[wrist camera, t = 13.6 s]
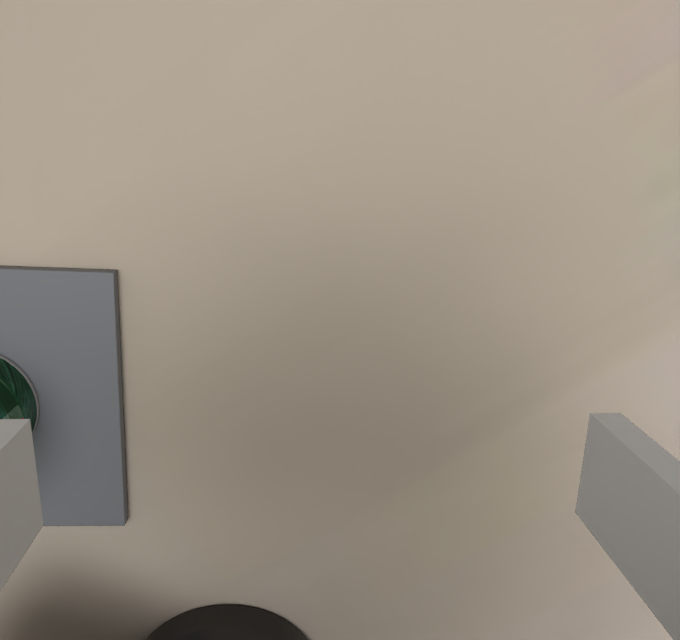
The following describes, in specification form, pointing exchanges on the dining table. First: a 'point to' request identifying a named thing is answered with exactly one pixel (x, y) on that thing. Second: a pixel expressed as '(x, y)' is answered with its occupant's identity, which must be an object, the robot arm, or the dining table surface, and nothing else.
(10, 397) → the canned tomato
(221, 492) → the dining table surface
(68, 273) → the slate grey board
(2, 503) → the robot arm
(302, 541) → the dining table surface
